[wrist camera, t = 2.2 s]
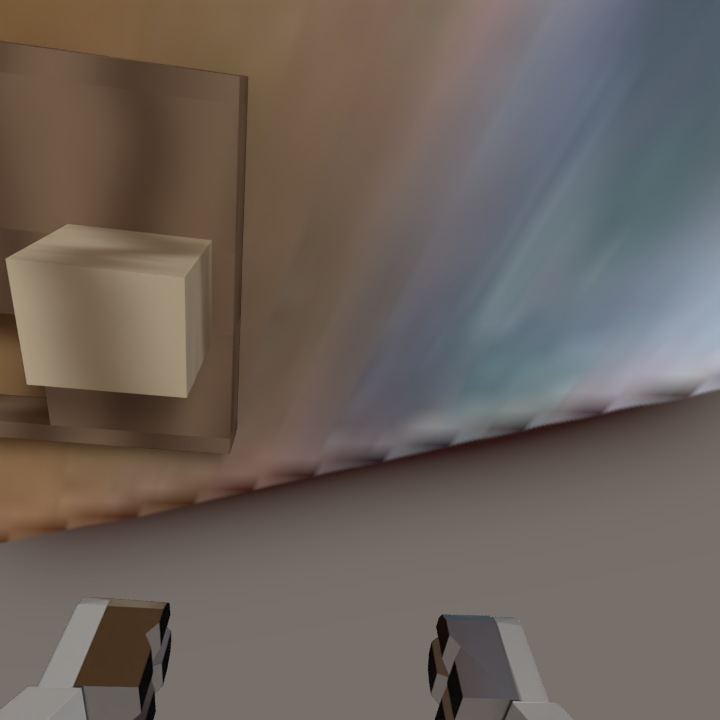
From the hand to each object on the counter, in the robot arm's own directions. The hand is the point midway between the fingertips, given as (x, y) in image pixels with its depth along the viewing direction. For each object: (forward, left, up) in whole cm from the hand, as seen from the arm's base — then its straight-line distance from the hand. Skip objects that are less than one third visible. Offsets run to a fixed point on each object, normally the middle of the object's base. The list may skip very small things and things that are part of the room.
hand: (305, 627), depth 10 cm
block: (+8, 0, -17) cm, 19 cm away
